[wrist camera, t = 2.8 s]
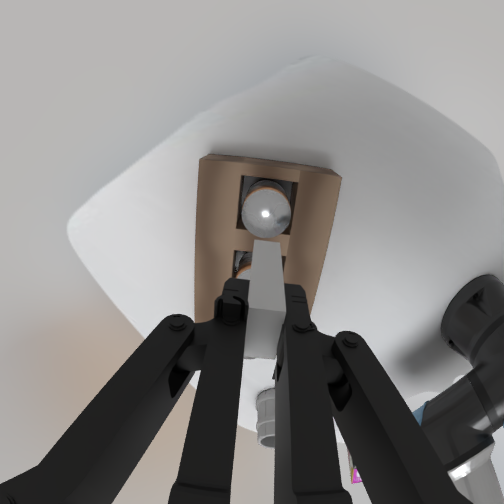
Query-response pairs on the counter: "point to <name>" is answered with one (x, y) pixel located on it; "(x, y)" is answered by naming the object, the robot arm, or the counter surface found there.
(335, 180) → the wooden candle holder
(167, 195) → the counter surface
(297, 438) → the robot arm
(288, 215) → the knob
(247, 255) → the knob
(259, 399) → the mug
